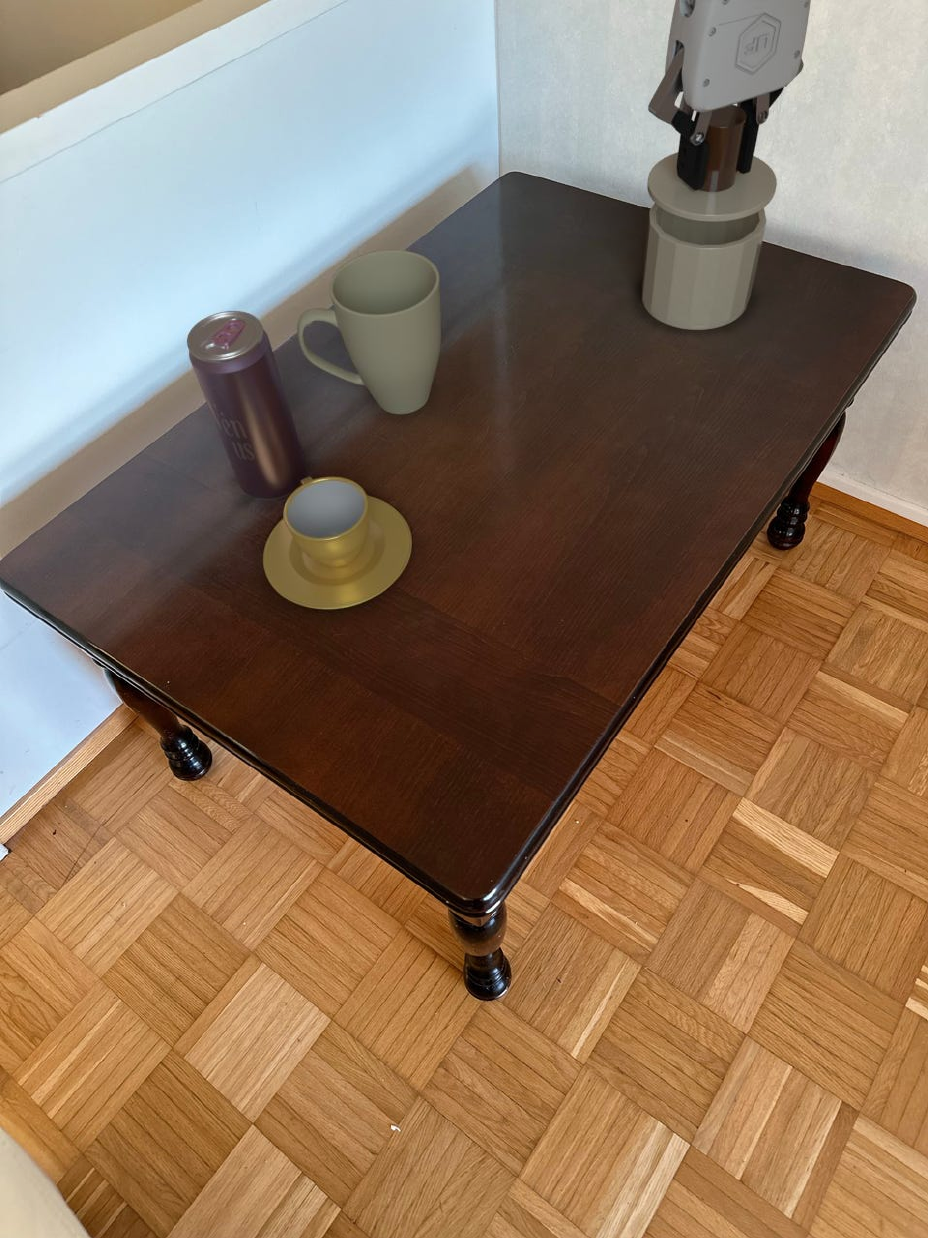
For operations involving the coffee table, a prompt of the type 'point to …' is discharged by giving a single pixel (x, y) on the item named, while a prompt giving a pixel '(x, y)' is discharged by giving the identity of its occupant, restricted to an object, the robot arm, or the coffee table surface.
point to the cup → (335, 545)
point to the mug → (385, 326)
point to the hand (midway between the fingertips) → (713, 172)
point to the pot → (700, 268)
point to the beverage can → (248, 403)
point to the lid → (716, 177)
